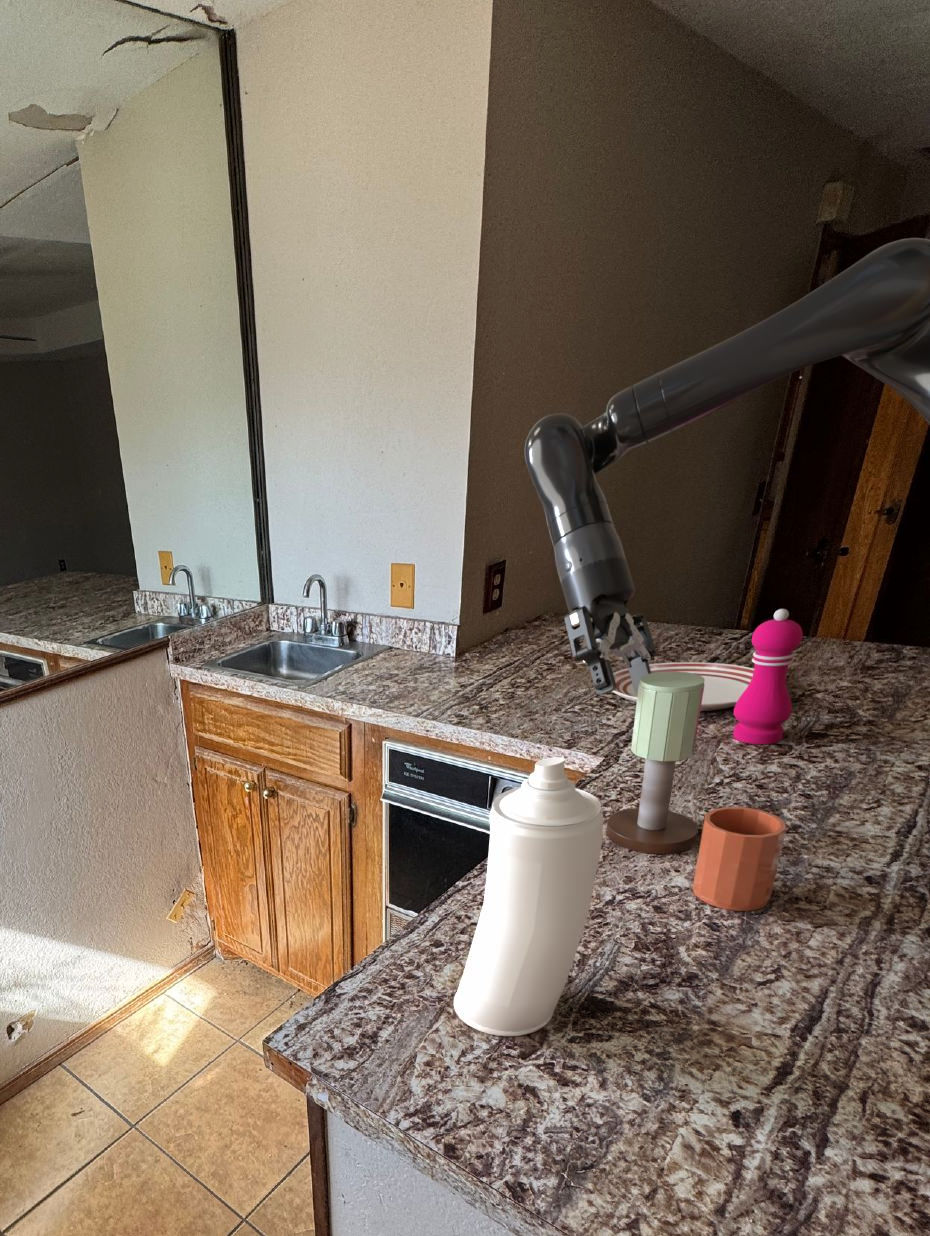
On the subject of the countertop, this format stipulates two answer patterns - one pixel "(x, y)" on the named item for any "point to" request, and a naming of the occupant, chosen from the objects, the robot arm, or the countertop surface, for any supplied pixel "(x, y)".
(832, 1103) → the countertop surface
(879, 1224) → the countertop surface
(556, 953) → the spray can
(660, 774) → the towel holder
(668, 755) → the cup
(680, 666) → the dinner plate
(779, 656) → the pepper mill
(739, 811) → the cup
